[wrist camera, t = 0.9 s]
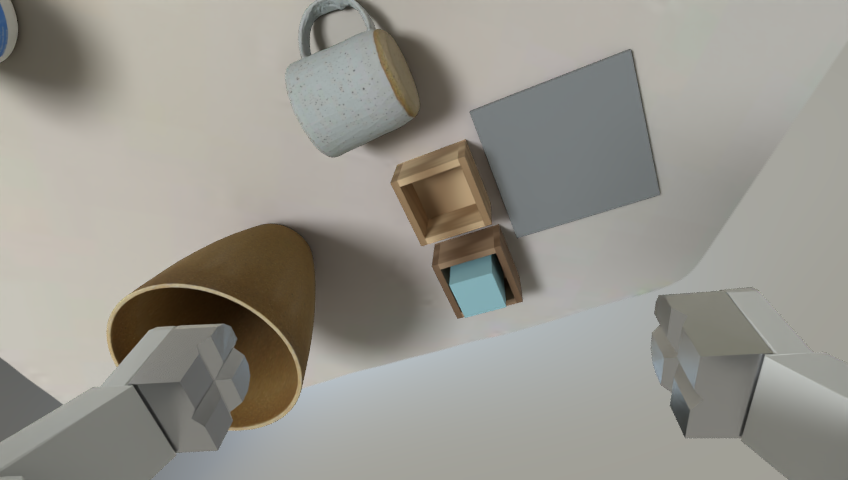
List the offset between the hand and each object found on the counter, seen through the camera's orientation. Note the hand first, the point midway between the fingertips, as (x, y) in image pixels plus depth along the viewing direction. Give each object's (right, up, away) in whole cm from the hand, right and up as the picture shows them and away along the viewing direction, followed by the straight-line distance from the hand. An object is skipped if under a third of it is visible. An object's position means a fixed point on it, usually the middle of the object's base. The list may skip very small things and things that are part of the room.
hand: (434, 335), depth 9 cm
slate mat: (+12, +9, +32) cm, 36 cm away
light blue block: (+5, 0, +39) cm, 39 cm away
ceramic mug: (-6, +16, +30) cm, 35 cm away
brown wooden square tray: (+5, 0, +39) cm, 39 cm away
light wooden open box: (+2, +7, +35) cm, 36 cm away
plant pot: (-15, +1, +41) cm, 43 cm away
